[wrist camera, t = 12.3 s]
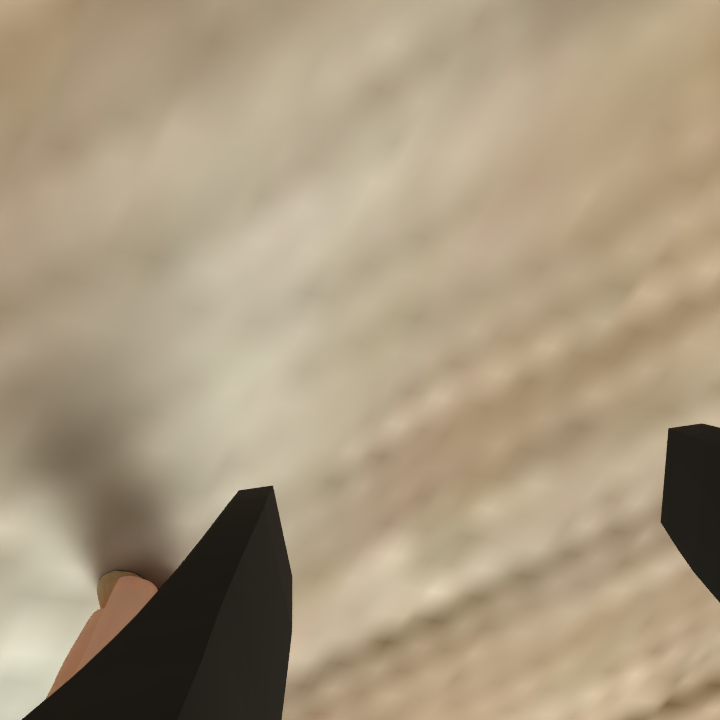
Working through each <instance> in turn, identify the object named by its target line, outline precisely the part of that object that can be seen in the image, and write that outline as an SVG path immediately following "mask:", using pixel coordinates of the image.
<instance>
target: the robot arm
mask: <svg viewBox="0 0 720 720" xmlns="http://www.w3.org/2000/svg"><path fill="white" fill-rule="evenodd" d="M661 523H662V525H663V527H664V528H665V530H666V531H667V533H668V534H669V536H670V538H671V539H672V541H673V542H674V544H675V545H676V547H677V549H678V550H679V551H680V553H681V554H682V556H683V557H684V559H685V560H686V562H687V563H688V564H689V566H690V567H691V569H692V570H693V572H694V573H695V574H696V575H697V576H698V578H699V579H700V580H701V581H702V582H703V584H704V585H705V586H706V587H707V588H708V589H709V590H710V592H711V593H712V594H713V595H714V596H715V597H716V599H717V600H718V601H719V602H720V428H718V427H714V426H710V425H706V424H696V425H689V426H682V427H675V428H669V430H668V441H667V453H666V465H665V477H664V489H663V501H662V513H661ZM291 635H292V574H291V569H290V564H289V560H288V555H287V550H286V545H285V541H284V536H283V531H282V527H281V522H280V517H279V512H278V508H277V503H276V498H275V494H274V489H273V486H267V487H260V488H253V489H246V490H239V491H238V492H237V494H236V495H235V496H234V497H233V499H232V500H231V501H230V502H229V504H228V505H227V506H226V507H225V509H224V510H223V511H222V513H221V514H220V515H219V517H218V518H217V519H216V520H215V522H214V523H213V524H212V526H211V527H210V528H209V530H208V531H207V532H206V533H205V535H204V536H203V537H202V539H201V540H200V541H199V542H198V544H197V545H196V546H195V547H194V549H193V550H192V551H191V552H190V554H189V555H188V556H187V557H186V559H185V560H184V561H183V562H182V563H181V565H180V566H179V567H178V568H177V570H176V571H175V572H174V573H173V574H172V576H171V577H170V578H169V579H168V580H167V581H166V582H165V583H164V584H163V586H162V587H161V588H160V589H159V590H158V591H157V592H156V593H155V595H154V596H153V597H152V598H151V599H150V600H149V601H148V602H147V604H146V605H145V606H144V607H143V608H142V609H141V610H140V611H139V613H138V614H137V615H136V616H135V617H134V618H133V619H132V620H131V621H130V622H129V623H128V624H127V625H126V626H125V627H124V628H123V629H122V630H121V631H120V632H119V633H118V634H117V635H116V636H115V637H114V638H113V639H112V640H111V641H110V642H109V643H108V644H107V645H106V646H105V647H104V648H103V649H102V650H101V651H99V652H98V653H97V654H96V655H95V656H94V657H93V658H92V659H91V660H90V661H89V662H88V663H87V664H86V665H85V666H84V667H83V668H81V669H80V670H79V671H78V672H77V673H76V674H75V675H74V676H73V677H72V678H70V679H69V680H68V681H67V682H66V683H65V684H63V685H62V686H61V687H60V688H59V689H58V690H56V691H55V692H54V693H53V694H52V695H50V696H49V697H48V698H47V699H46V700H44V701H43V702H42V703H41V704H40V705H39V706H37V707H36V708H35V709H34V710H33V711H31V712H30V713H29V714H28V715H27V716H26V717H24V718H23V719H22V720H281V719H282V711H283V703H284V694H285V686H286V678H287V670H288V661H289V652H290V644H291Z"/></svg>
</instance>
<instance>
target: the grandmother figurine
mask: <svg viewBox="0 0 720 720" xmlns="http://www.w3.org/2000/svg"><path fill="white" fill-rule="evenodd" d="M157 591H158V590H157V588H156V587H155V585H154V584H152V583H151V582H150V581H148V580H144V579H142V578H141V577H140V576H138V575H136V574H134V573H131V572H124V571H112V572H109V573H107V574H105V575H103V576H102V577H101V579H100V580H99V582H98V585H97V594H98V599H99V604H100V609H99V610H97V611H96V612H94V614H93V615H92V616H91V617H90V619H89V620H88V622H87V623H86V625H85V627H84V628H83V630H82V632H81V633H80V635H79V637H78V638H77V640H76V642H75V643H74V645H73V647H72V648H71V650H70V652H69V654H68V656H67V657H66V659H65V661H64V663H63V665H62V667H61V669H60V671H59V673H58V675H57V677H56V679H55V682H54V684H53V686H52V688H51V690H50V692H49V694H48V696H47V697H46V699H47V698H48V697H49V696H50V695H52V694H53V693H54V692H55V691H56V690H58V689H59V688H60V687H61V686H62V685H63V684H65V683H66V682H67V681H68V680H69V679H70V678H72V677H73V676H74V675H75V674H76V673H77V672H78V671H79V670H80V669H81V668H83V667H84V666H85V665H86V664H87V663H88V662H89V661H90V660H91V659H92V658H93V657H94V656H95V655H96V654H97V653H98V652H99V651H101V650H102V649H103V648H104V647H105V646H106V645H107V644H108V643H109V642H110V641H111V640H112V639H113V638H114V637H115V636H116V635H117V634H118V633H119V632H120V631H121V630H122V629H123V628H124V627H125V626H126V625H127V624H128V623H129V622H130V621H131V620H132V619H133V618H134V617H135V616H136V615H137V614H138V613H139V611H140V610H141V609H142V608H143V607H144V606H145V605H146V604H147V602H148V601H149V600H150V599H151V598H152V597H153V596H154V595H155V593H156V592H157ZM46 699H45V700H46Z"/></svg>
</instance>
